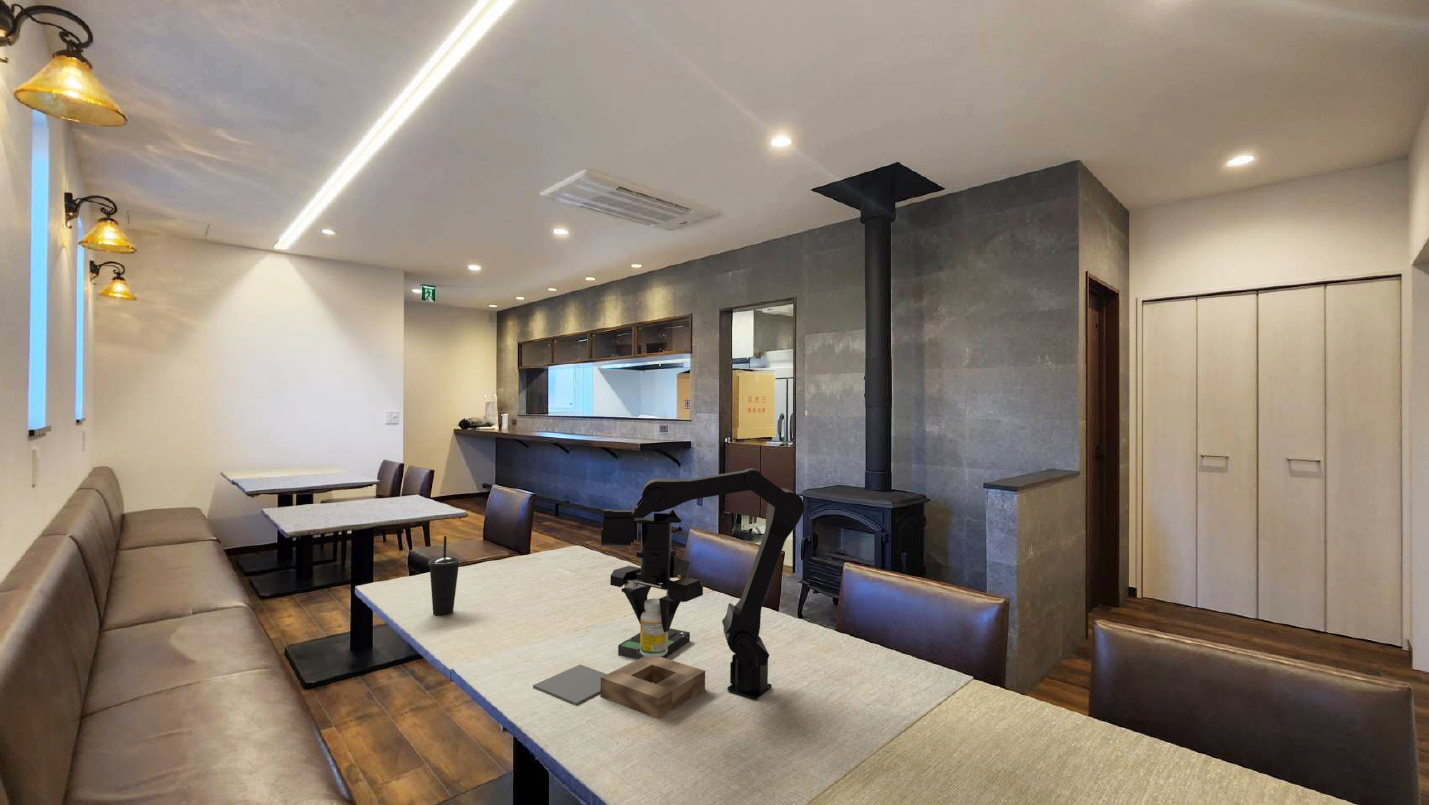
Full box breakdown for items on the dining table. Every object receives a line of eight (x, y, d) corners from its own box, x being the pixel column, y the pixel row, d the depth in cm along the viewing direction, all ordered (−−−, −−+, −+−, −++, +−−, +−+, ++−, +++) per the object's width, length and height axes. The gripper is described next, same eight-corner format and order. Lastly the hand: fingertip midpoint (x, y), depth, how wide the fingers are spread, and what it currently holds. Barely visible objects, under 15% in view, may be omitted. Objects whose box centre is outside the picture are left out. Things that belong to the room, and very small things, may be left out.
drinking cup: (427, 610, 157) (429, 534, 158) (458, 606, 161) (460, 532, 161) (426, 619, 150) (428, 540, 151) (459, 615, 154) (461, 537, 154)
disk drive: (652, 636, 143) (616, 657, 130) (652, 624, 143) (617, 644, 130) (690, 643, 138) (657, 666, 125) (690, 631, 139) (657, 652, 125)
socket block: (704, 689, 114) (705, 670, 114) (658, 719, 102) (658, 698, 102) (649, 670, 122) (649, 653, 122) (600, 696, 110) (600, 677, 110)
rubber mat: (622, 681, 116) (622, 679, 116) (576, 705, 107) (576, 703, 107) (580, 666, 123) (580, 664, 123) (532, 687, 113) (533, 685, 113)
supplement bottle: (659, 660, 109) (660, 607, 109) (634, 655, 111) (635, 603, 111) (673, 650, 114) (674, 599, 114) (649, 645, 116) (650, 595, 116)
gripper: (720, 545, 114) (718, 627, 114) (646, 533, 125) (645, 608, 124) (685, 555, 105) (683, 644, 104) (609, 542, 115) (607, 622, 115)
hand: (654, 628), depth 112 cm, fingers closed on supplement bottle, 5 cm apart
